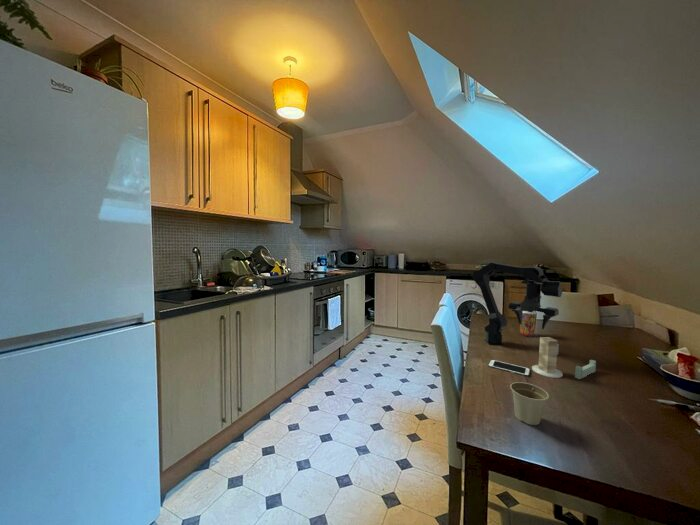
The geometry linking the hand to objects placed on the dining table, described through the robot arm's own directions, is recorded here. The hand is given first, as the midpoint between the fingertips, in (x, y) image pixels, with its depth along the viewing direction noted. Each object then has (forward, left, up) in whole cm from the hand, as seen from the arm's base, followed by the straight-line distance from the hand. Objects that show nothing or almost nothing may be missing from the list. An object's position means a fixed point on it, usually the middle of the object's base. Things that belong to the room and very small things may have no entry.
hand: (531, 326), depth 125 cm
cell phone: (-17, -18, -14) cm, 28 cm away
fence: (+11, -19, -13) cm, 25 cm away
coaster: (-3, -19, -13) cm, 23 cm away
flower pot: (-26, -52, -13) cm, 60 cm away
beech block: (-3, -19, -12) cm, 23 cm away
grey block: (+10, +2, -13) cm, 17 cm away
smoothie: (+12, +28, -13) cm, 33 cm away
